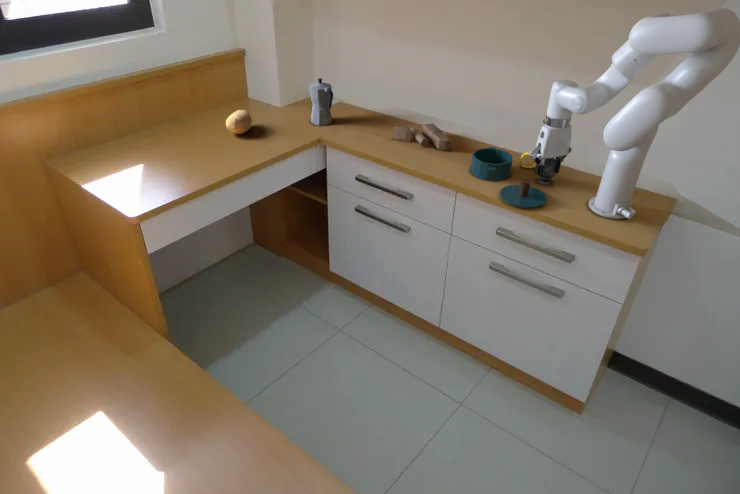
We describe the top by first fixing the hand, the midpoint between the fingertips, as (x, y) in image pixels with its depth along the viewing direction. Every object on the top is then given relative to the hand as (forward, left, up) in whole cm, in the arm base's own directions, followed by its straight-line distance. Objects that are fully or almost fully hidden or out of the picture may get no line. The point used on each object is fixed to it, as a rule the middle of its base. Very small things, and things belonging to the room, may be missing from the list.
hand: (546, 172), depth 171 cm
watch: (+11, -1, -4) cm, 12 cm away
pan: (+12, +14, -3) cm, 19 cm away
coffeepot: (+74, +57, -4) cm, 94 cm away
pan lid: (-7, +13, -3) cm, 16 cm away
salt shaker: (0, 0, -3) cm, 3 cm away
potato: (+74, +91, -4) cm, 118 cm away
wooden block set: (+41, +27, -4) cm, 50 cm away
